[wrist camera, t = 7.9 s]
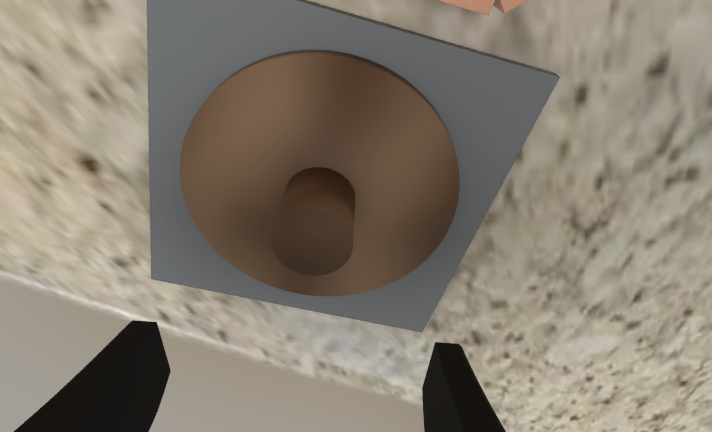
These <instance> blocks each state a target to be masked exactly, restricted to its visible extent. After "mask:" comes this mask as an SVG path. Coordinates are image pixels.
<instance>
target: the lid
mask: <svg viewBox="0 0 712 432" xmlns="http://www.w3.org/2000/svg"><path fill="white" fill-rule="evenodd" d="M180 180H181V188H182V192H183V196H184V200H185V203H186V206H187V208H188V211H189V213H190V216H191V218H192V219H193V221H194V223H195V225H196V227H197V228H198V230H199V231H200V233H201V234H202V235H203V237H204V238H205V239H206V241H207V242H208V243H209V244H210V245H211V246H212V248H213V249H214V250H215V251H216V252H217V253H218V254H219V255H220V256H222V257H223V258H224V259H225V260H226V261H227V262H229V263H230V264H231V265H233V266H234V267H235V268H237V269H238V270H240V271H241V272H243V273H245V274H246V275H248V276H250V277H252V278H254V279H255V280H258V281H260V282H262V283H265V284H267V285H269V286H272V287H275V288H278V289H281V290H284V291H288V292H293V293H297V294H303V295H311V296H329V297H332V296H347V295H353V294H359V293H364V292H367V291H371V290H375V289H378V288H380V287H383V286H386V285H388V284H391V283H393V282H395V281H397V280H399V279H401V278H403V277H404V276H406V275H407V274H409V273H410V272H412V271H413V270H415V269H416V268H417V267H418V266H420V265H421V264H422V263H423V262H424V261H426V260H427V259H428V257H429V256H430V255H431V254H432V253H433V252H434V251H435V250H436V249H437V247H438V246H439V244H440V243H441V242H442V240H443V239H444V237H445V236H446V234H447V232H448V230H449V228H450V226H451V224H452V221H453V218H454V215H455V212H456V209H457V204H458V199H459V187H460V177H459V169H458V162H457V158H456V155H455V151H454V148H453V145H452V142H451V139H450V137H449V134H448V132H447V130H446V128H445V126H444V123H443V121H442V120H441V118H440V117H439V115H438V114H437V112H436V111H435V109H434V107H433V106H432V105H431V104H430V103H429V101H428V100H427V99H426V98H425V97H424V96H423V95H422V94H421V92H420V91H418V90H417V89H416V88H415V87H414V86H413V85H411V84H410V83H409V82H408V81H407V80H405V79H404V78H402V77H401V76H399V75H398V74H396V73H395V72H393V71H391V70H390V69H388V68H386V67H384V66H382V65H380V64H377V63H375V62H373V61H371V60H368V59H365V58H362V57H359V56H355V55H352V54H349V53H342V52H336V51H330V50H299V51H290V52H284V53H280V54H276V55H273V56H269V57H266V58H263V59H261V60H258V61H256V62H254V63H251V64H249V65H247V66H245V67H244V68H242V69H240V70H239V71H237V72H235V73H234V74H232V75H231V76H230V77H229V78H227V79H226V80H225V81H224V82H223V83H221V84H220V85H219V86H218V87H217V88H216V89H215V90H214V92H213V93H212V94H211V95H210V96H209V97H208V98H207V100H206V101H205V102H204V103H203V104H202V105H201V106H200V108H199V109H198V111H197V113H196V114H195V116H194V118H193V119H192V121H191V122H190V125H189V127H188V130H187V132H186V135H185V137H184V141H183V146H182V150H181V155H180Z"/></svg>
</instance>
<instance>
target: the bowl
mask: <svg viewBox="0 0 712 432" xmlns="http://www.w3.org/2000/svg"><path fill="white" fill-rule="evenodd" d="M439 1H442V2H446V3H449V4H452V5H456V6H459V7H462V8H465V9H469V10H472V11H475V12H478V13H482V14H485V15H488V16H489V13H490V11H491V8H492V6H493V5H494V6H495V7H497V8H498V9H499V10H501V11H502V12H504V13H506V12H508V11H510V10H512V9H513V8H515V7H517V6H519V5H521V4H522V3H524V2H526V1H528V0H439Z"/></svg>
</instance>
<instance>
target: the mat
mask: <svg viewBox="0 0 712 432" xmlns="http://www.w3.org/2000/svg"><path fill="white" fill-rule="evenodd" d="M147 39H148V102H149V164H150V227H151V279H154V280H159V281H164V282H169V283H174V284H179V285H184V286H189V287H194V288H199V289H204V290H209V291H215V292H220V293H225V294H230V295H235V296H240V297H245V298H250V299H255V300H260V301H265V302H270V303H275V304H281V305H286V306H291V307H296V308H301V309H306V310H311V311H316V312H321V313H326V314H331V315H336V316H341V317H347V318H352V319H357V320H362V321H367V322H372V323H377V324H382V325H387V326H392V327H397V328H402V329H407V330H413V331H418V332H423V330H424V328H425V326H426V324H427V322H428V321H429V319H430V317H431V315H432V313H433V311H434V309H435V308H436V306H437V304H438V302H439V300H440V298H441V297H442V295H443V293H444V291H445V289H446V287H447V285H448V284H449V282H450V280H451V278H452V276H453V274H454V272H455V271H456V269H457V267H458V265H459V263H460V261H461V259H462V258H463V256H464V254H465V252H466V250H467V248H468V246H469V245H470V243H471V241H472V239H473V237H474V235H475V233H476V232H477V230H478V228H479V226H480V224H481V222H482V220H483V219H484V217H485V215H486V213H487V211H488V209H489V207H490V206H491V204H492V202H493V200H494V198H495V196H496V195H497V193H498V191H499V189H500V187H501V185H502V183H503V182H504V180H505V178H506V176H507V174H508V172H509V170H510V169H511V167H512V165H513V163H514V161H515V159H516V157H517V156H518V154H519V152H520V150H521V148H522V146H523V144H524V143H525V141H526V139H527V137H528V135H529V133H530V131H531V130H532V128H533V126H534V124H535V122H536V120H537V118H538V117H539V115H540V113H541V111H542V109H543V107H544V105H545V104H546V102H547V100H548V98H549V96H550V94H551V92H552V91H553V89H554V87H555V85H556V83H557V81H558V80H559V78H560V77H559V76H558V75H556V74H555V73H551V72H548V71H544V70H541V69H538V68H534V67H531V66H527V65H524V64H520V63H517V62H514V61H510V60H507V59H503V58H500V57H497V56H493V55H490V54H486V53H483V52H479V51H476V50H473V49H469V48H466V47H462V46H459V45H456V44H452V43H449V42H445V41H442V40H438V39H435V38H432V37H428V36H425V35H421V34H418V33H415V32H411V31H408V30H404V29H401V28H397V27H394V26H391V25H387V24H384V23H380V22H377V21H373V20H370V19H367V18H363V17H360V16H356V15H353V14H350V13H346V12H343V11H339V10H336V9H332V8H329V7H326V6H322V5H319V4H315V3H312V2H309V1H305V0H147ZM299 50H330V51H336V52H342V53H349V54H352V55H355V56H359V57H362V58H365V59H368V60H371V61H373V62H375V63H377V64H380V65H382V66H384V67H386V68H388V69H390V70H391V71H393V72H395V73H396V74H398V75H399V76H401V77H402V78H404V79H405V80H407V81H408V82H409V83H410V84H411V85H413V86H414V87H415V88H416V89H417V90H418V91H420V92H421V94H422V95H423V96H424V97H425V98H426V99H427V100H428V101H429V103H430V104H431V105H432V106H433V107H434V109H435V111H436V112H437V114H438V115H439V117H440V118H441V120H442V121H443V123H444V126H445V128H446V130H447V132H448V134H449V137H450V139H451V142H452V145H453V148H454V151H455V155H456V158H457V162H458V169H459V177H460V187H459V199H458V204H457V209H456V212H455V215H454V218H453V221H452V224H451V226H450V228H449V230H448V232H447V234H446V236H445V237H444V239H443V240H442V242H441V243H440V244H439V246H438V247H437V249H436V250H435V251H434V252H433V253H432V254H431V255H430V256H429V257H428V259H427V260H426V261H424V262H423V263H422V264H421V265H420V266H418V267H417V268H416V269H415V270H413V271H412V272H410V273H409V274H407V275H406V276H404V277H403V278H401V279H399V280H397V281H395V282H393V283H391V284H388V285H386V286H383V287H380V288H378V289H375V290H371V291H367V292H364V293H359V294H353V295H347V296H332V297H329V296H311V295H303V294H297V293H293V292H288V291H284V290H281V289H278V288H275V287H272V286H269V285H267V284H265V283H262V282H260V281H258V280H255V279H254V278H252V277H250V276H248V275H246V274H245V273H243V272H241V271H240V270H238V269H237V268H235V267H234V266H233V265H231V264H230V263H229V262H227V261H226V260H225V259H224V258H223V257H222V256H220V255H219V254H218V253H217V252H216V251H215V250H214V249H213V248H212V246H211V245H210V244H209V243H208V242H207V241H206V239H205V238H204V237H203V235H202V234H201V233H200V231H199V230H198V228H197V227H196V225H195V223H194V221H193V219H192V218H191V216H190V213H189V211H188V208H187V206H186V203H185V200H184V196H183V192H182V188H181V180H180V155H181V150H182V146H183V141H184V137H185V135H186V132H187V130H188V127H189V125H190V122H191V121H192V119H193V118H194V116H195V114H196V113H197V111H198V109H199V108H200V106H201V105H202V104H203V103H204V102H205V101H206V100H207V98H208V97H209V96H210V95H211V94H212V93H213V92H214V90H215V89H216V88H217V87H218V86H219V85H220V84H221V83H223V82H224V81H225V80H226V79H227V78H229V77H230V76H231V75H232V74H234V73H235V72H237V71H239V70H240V69H242V68H244V67H245V66H247V65H249V64H251V63H254V62H256V61H258V60H261V59H263V58H266V57H269V56H273V55H276V54H280V53H284V52H290V51H299Z"/></svg>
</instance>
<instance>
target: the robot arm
mask: <svg viewBox="0 0 712 432" xmlns="http://www.w3.org/2000/svg"><path fill="white" fill-rule="evenodd" d="M169 374H170V367H169V364H168V360H167V357H166V353H165V350H164V346H163V343H162V339H161V336H160V332H159V329H158V325H157V322H146V321H132V322H130V323H129V324H128V325H127V326H126V327H125V328H124V329H123V330H122V331H121V332H120V333H119V334H118V335H117V336H116V337H115V338H114V339H113V340H112V341H111V342H110V343H109V344H108V345H107V346H106V347H105V348H104V349H103V350H102V351H101V352H100V353H99V354H98V355H97V356H96V357H95V358H94V359H93V360H92V361H91V362H90V363H89V364H88V365H86V366H85V367H84V369H82V370H81V371H80V372H79V373H78V374H77V375H76V376H75V377H74V378H73V379H72V380H71V381H70V382H69V383H67V385H65V386H64V387H63V388H62V389H61V390H60V391H59V392H58V393H57V394H56V395H55V396H54V397H53V398H52V399H50V400H49V401H48V402H47V403H46V404H45V405H44V406H42V407H41V408H40V409H39V410H38V411H37V412H36V413H35V414H33V415H32V416H31V417H30V418H29V419H28V420H27V421H25V422H24V423H23V424H22V425H21V426H20V427H18V428H17V429H16V430H15V431H14V432H148V431H149V429H150V427H151V425H152V423H153V420H154V418H155V416H156V413H157V411H158V408H159V405H160V402H161V399H162V396H163V394H164V390H165V387H166V384H167V380H168V377H169ZM422 392H423V413H424V429H425V432H506V431H505V430H504V428H503V426H502V424H501V423H500V421H499V419H498V417H497V416H496V414H495V412H494V410H493V409H492V407H491V405H490V403H489V401H488V399H487V398H486V396H485V394H484V392H483V390H482V388H481V386H480V384H479V382H478V380H477V378H476V376H475V374H474V372H473V370H472V368H471V366H470V364H469V362H468V360H467V358H466V355H465V353H464V351H463V349H462V347H461V346H460V345H459V344H451V343H437V342H435V346H434V349H433V353H432V356H431V360H430V363H429V367H428V370H427V374H426V377H425V381H424V384H423V388H422Z"/></svg>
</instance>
